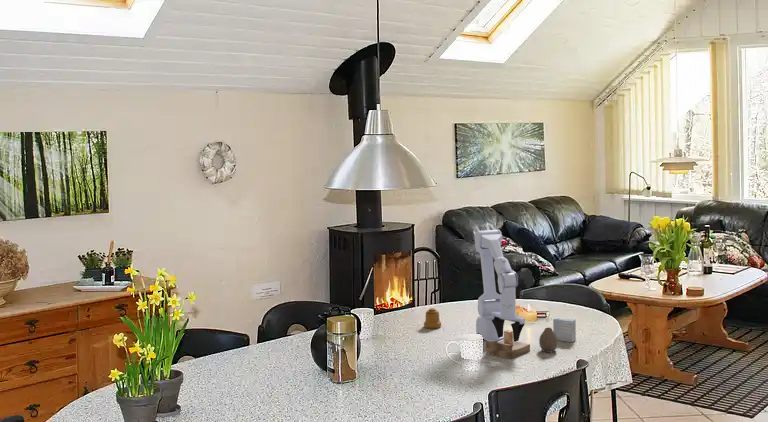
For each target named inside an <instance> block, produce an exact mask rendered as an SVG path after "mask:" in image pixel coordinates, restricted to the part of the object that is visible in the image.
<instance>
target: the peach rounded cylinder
mask: <svg viewBox="0 0 768 422" xmlns="http://www.w3.org/2000/svg"><path fill="white" fill-rule="evenodd" d="M503 336H504V338H503V340H504V344H509V345H512V346H513V341H514V340H513V330H509V329H507V330H503Z"/></svg>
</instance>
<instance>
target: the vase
mask: <svg viewBox="0 0 768 422" xmlns="http://www.w3.org/2000/svg"><path fill="white" fill-rule="evenodd" d="M552 328H553V327H545V328H544V330H543V332H541V334H540V336H539V339H538V341H539V342H538V344H539V347H540V349H541V350H542V351H543V352H546V353H553V352H555V350H556V349H557V348H558V345H559V340H558V339H557V336H556V334H555V333H554V332H553V329H552Z"/></svg>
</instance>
